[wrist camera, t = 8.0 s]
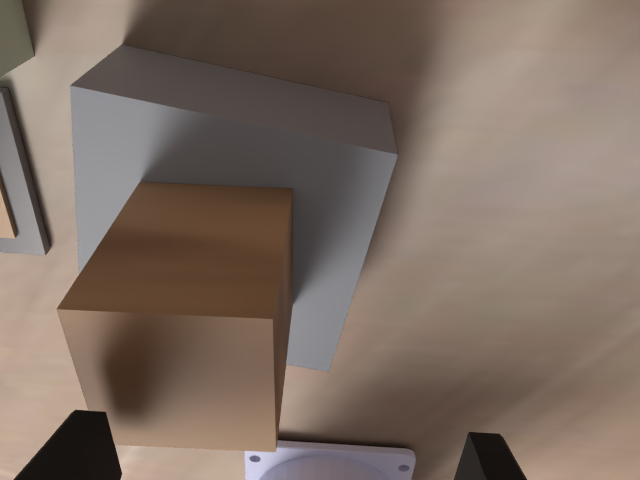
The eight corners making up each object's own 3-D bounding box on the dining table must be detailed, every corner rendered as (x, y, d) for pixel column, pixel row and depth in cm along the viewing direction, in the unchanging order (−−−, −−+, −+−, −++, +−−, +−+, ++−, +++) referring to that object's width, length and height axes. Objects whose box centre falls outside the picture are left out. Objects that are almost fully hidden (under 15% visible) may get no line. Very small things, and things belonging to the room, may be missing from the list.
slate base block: (330, 293, 21) (328, 371, 18) (123, 255, 21) (81, 328, 17) (387, 98, 17) (398, 154, 14) (125, 41, 16) (69, 85, 13)
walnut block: (292, 306, 16) (276, 452, 12) (159, 300, 17) (98, 444, 12) (293, 188, 14) (272, 318, 10) (139, 182, 14) (56, 309, 10)
